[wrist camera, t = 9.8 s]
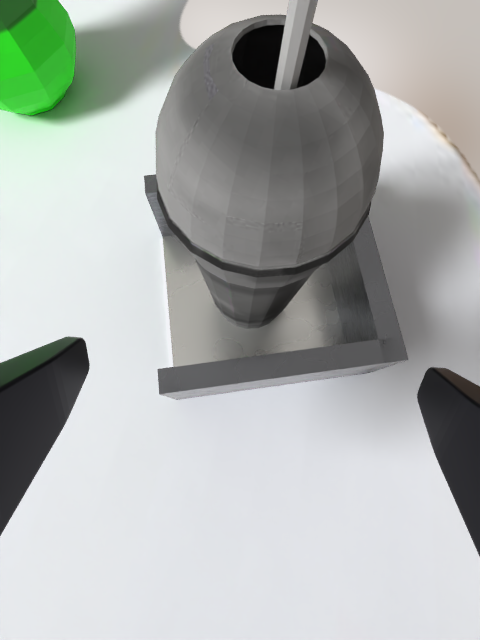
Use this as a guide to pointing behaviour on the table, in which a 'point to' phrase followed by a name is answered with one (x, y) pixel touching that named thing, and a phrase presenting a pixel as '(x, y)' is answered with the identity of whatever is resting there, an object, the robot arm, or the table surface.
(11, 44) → the plastic bottle
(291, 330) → the box
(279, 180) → the beverage cup
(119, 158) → the table surface
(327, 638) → the table surface
